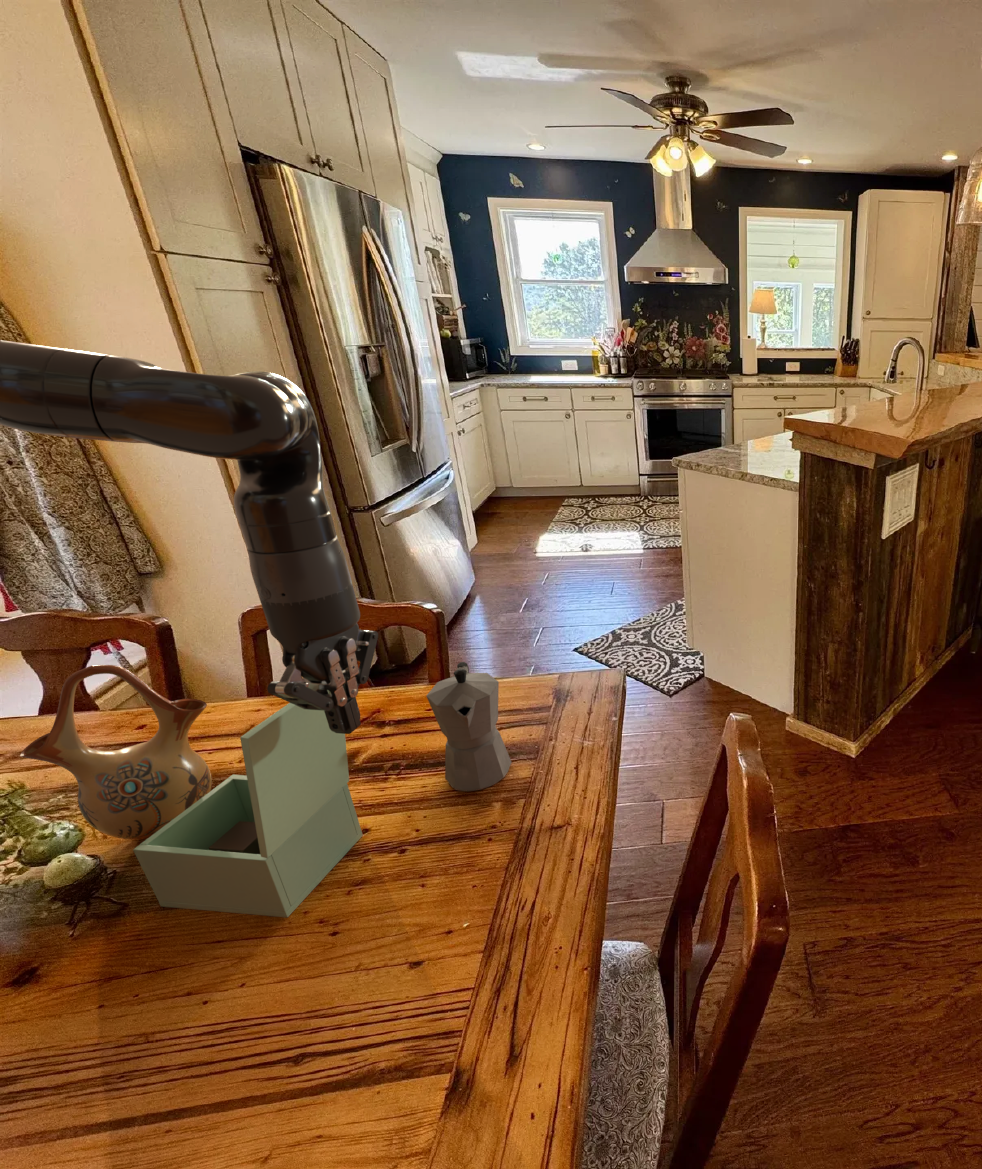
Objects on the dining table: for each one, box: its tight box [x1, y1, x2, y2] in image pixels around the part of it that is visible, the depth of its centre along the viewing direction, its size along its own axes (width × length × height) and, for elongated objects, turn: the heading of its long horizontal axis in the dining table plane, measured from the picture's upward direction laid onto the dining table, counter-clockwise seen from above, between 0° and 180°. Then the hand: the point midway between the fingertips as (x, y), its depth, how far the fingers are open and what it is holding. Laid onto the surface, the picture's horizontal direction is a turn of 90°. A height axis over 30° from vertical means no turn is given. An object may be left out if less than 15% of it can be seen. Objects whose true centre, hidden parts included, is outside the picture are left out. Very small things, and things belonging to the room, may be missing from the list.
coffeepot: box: [426, 661, 513, 792], centre depth 93 cm, size 15×9×18 cm, turn 26°
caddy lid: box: [239, 690, 350, 858], centre depth 70 cm, size 16×13×1 cm
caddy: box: [132, 774, 364, 918], centre depth 76 cm, size 16×13×9 cm
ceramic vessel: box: [19, 664, 213, 841], centre depth 78 cm, size 16×9×25 cm, turn 131°
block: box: [209, 821, 260, 854], centre depth 77 cm, size 4×4×4 cm
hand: (347, 729), depth 68 cm, fingers closed
